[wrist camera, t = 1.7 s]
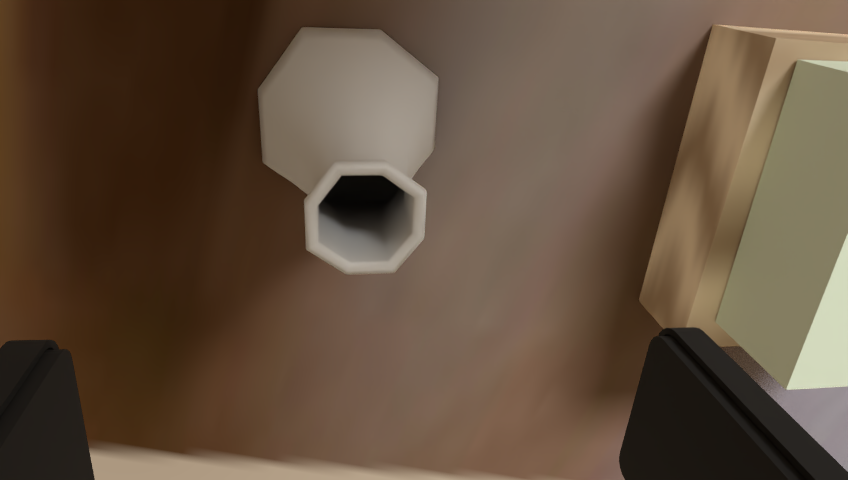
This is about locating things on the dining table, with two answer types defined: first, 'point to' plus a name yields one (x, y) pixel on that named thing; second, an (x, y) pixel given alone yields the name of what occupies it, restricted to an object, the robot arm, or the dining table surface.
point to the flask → (352, 143)
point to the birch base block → (723, 168)
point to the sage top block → (798, 240)
